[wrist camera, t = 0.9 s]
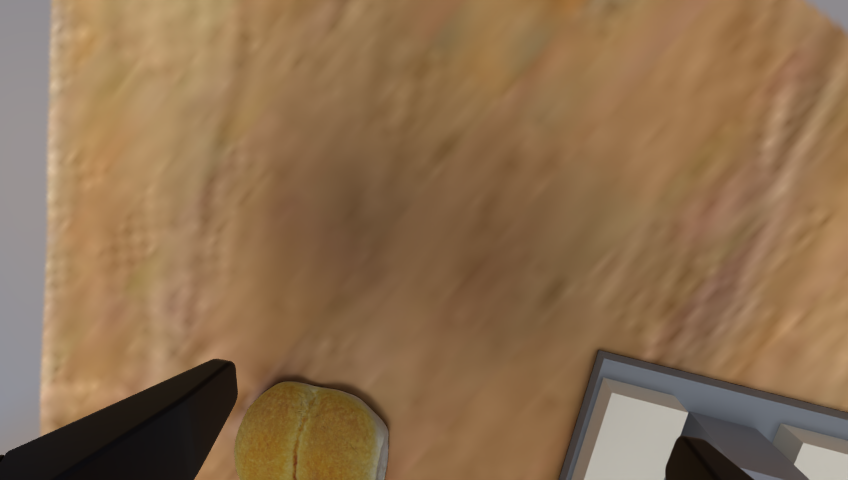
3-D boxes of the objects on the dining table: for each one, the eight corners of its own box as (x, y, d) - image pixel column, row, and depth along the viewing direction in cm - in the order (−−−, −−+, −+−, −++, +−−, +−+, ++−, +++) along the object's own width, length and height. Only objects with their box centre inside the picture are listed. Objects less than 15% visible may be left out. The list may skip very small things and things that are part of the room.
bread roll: (253, 367, 26) (212, 401, 22) (395, 390, 25) (378, 431, 21) (250, 485, 27) (211, 537, 23) (384, 512, 26) (366, 572, 22)
